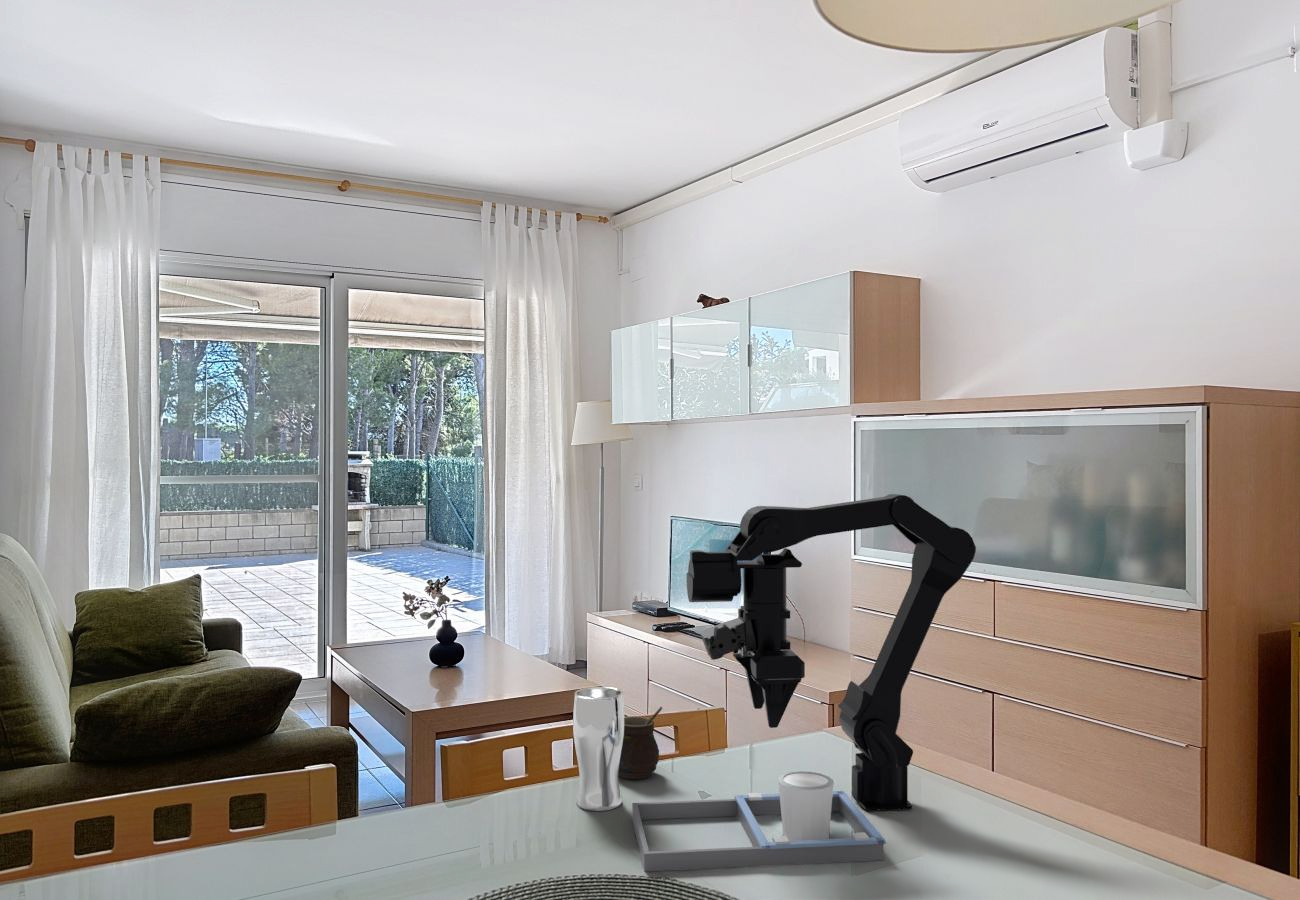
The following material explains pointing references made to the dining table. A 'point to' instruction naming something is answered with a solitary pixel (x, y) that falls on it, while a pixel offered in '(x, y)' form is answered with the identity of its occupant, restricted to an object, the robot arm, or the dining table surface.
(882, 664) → the robot arm
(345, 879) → the dining table surface
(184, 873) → the dining table surface
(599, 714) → the beer glass
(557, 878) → the dining table surface
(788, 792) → the light grey cup
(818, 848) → the two-slot open tray
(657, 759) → the mate gourd
